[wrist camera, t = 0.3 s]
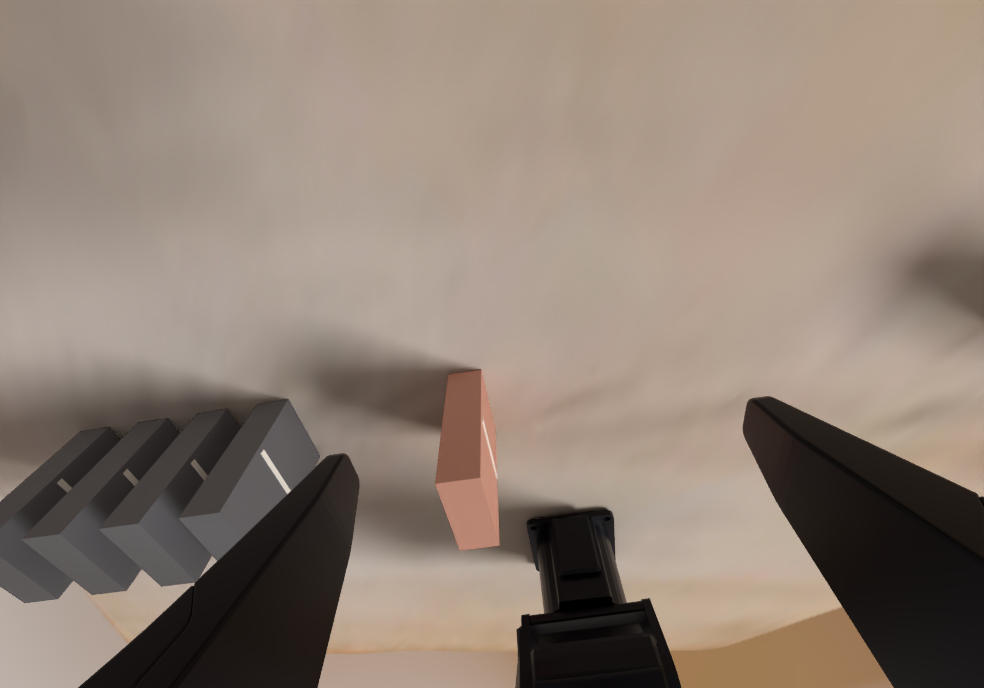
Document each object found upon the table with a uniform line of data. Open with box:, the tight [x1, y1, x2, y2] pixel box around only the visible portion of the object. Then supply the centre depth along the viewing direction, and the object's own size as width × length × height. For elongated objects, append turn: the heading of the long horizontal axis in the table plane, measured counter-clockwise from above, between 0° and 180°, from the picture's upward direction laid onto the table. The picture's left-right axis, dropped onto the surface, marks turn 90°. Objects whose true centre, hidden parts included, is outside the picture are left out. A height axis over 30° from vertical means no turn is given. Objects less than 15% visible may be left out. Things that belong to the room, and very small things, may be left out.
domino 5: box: [0, 427, 120, 603], centre depth 25 cm, size 5×2×8 cm, turn 10°
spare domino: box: [435, 370, 500, 550], centre depth 23 cm, size 5×2×8 cm, turn 10°
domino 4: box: [21, 418, 180, 595], centre depth 25 cm, size 5×2×8 cm, turn 10°
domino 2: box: [179, 399, 320, 561], centre depth 24 cm, size 5×2×8 cm, turn 10°
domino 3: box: [99, 409, 241, 586], centre depth 24 cm, size 5×2×8 cm, turn 10°
